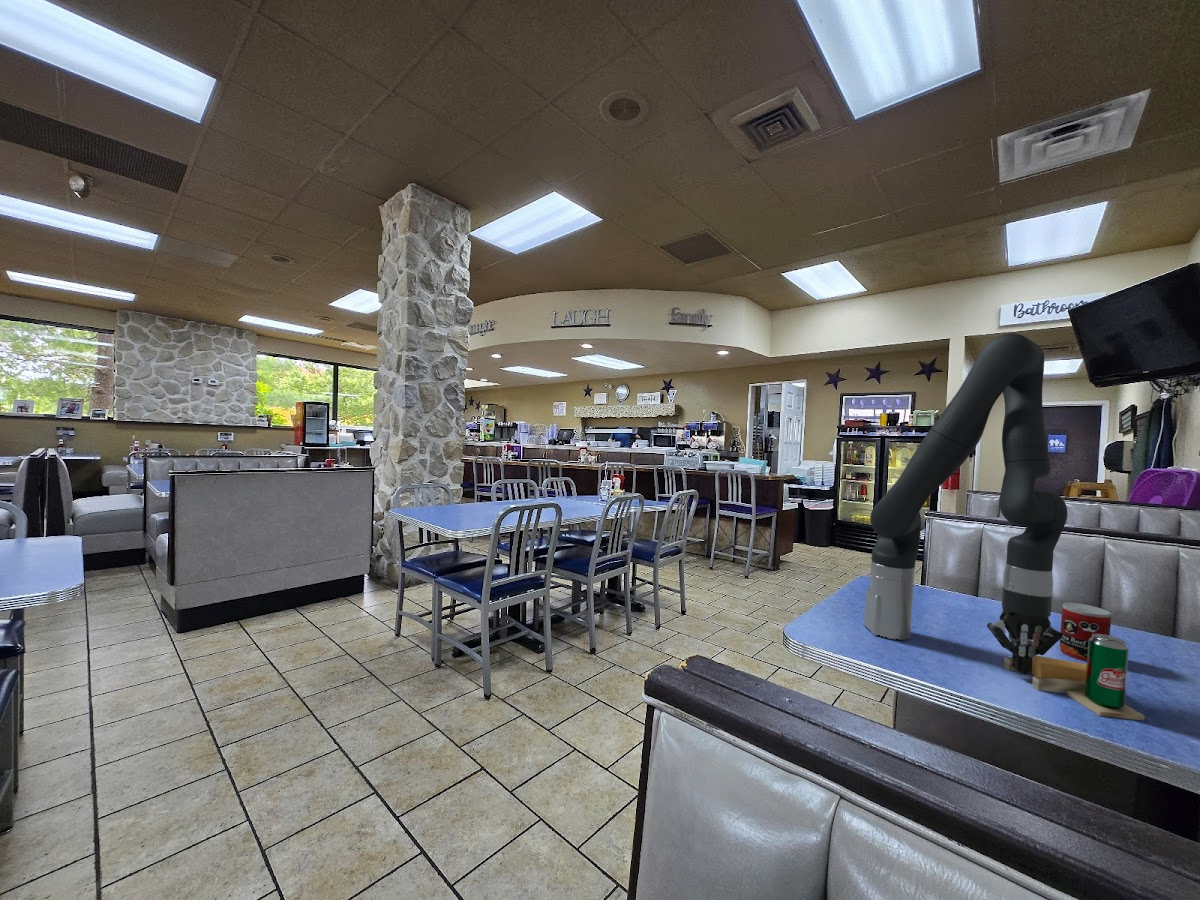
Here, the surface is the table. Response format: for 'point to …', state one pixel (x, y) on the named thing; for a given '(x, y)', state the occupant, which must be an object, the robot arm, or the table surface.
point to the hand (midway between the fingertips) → (1021, 672)
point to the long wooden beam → (1058, 669)
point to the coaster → (1105, 708)
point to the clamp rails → (1051, 682)
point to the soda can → (1106, 671)
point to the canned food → (1081, 628)
